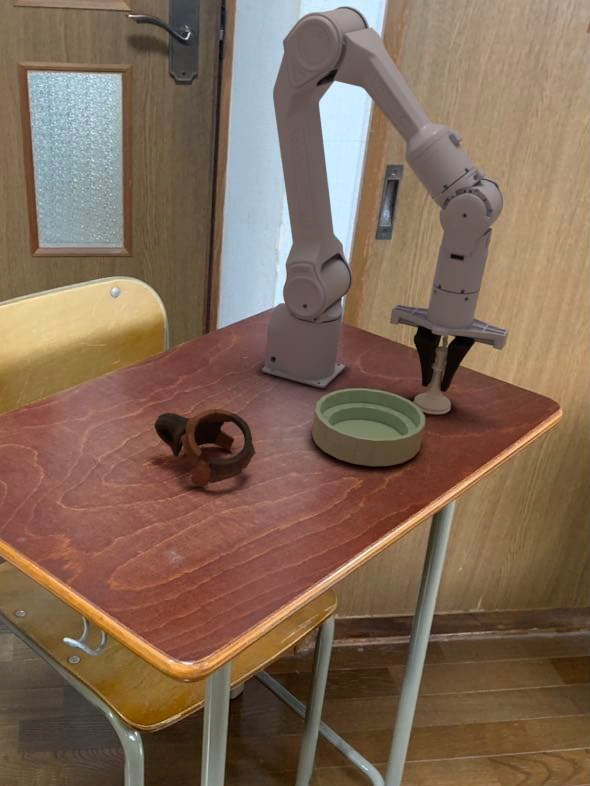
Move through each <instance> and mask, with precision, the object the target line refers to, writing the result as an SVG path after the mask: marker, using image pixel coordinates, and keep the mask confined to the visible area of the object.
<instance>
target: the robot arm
mask: <svg viewBox="0 0 590 786" xmlns="http://www.w3.org/2000/svg"><path fill="white" fill-rule="evenodd" d="M282 46H283V54H282V59H281V62H280V65H279V68H278V72H277V76H276V79H275V82H274V86H273V89H272V100H273V107H274V115H275V123H276V129H277V137H278V145H279V152H280V160H281V167H282V173H283V181H284V189H285V197H286V204H287V211H288V218H289V225H290V233H291V239H292V244H291V247H290V249H289V252H288V254H287V255H288V256H287V258H286V261H285V271H286V272H285V273H286V276H285V281H284V285H283V289H282V296H283V297H282V298H283V301H284V302H280V303H278V304H277V305H276V306H275V308H274V309H273V310H272V313H271V315H270V317H269V322H268V326H267V332H266V343H265V345H266V346H265V357H264V367H261V371H262V373H265V374H268V375H273V376H276V377H279V378H283V379H286V380H291V381H293V382H297V383H301V384H305V385H307V386H311V387H315V388H318V389H325V388H326V387H327V386H328V385H329V384H330V383H331V382H332V381H333V380H334V379H336V377H337V376H339V375H340V374H341V373H342V372H343V371H344V370H345V369H346V365H345V364H342V363H339V362H337V355H338V350H339V349H338V348H339V341H340V333H341V327H342V320H343V319H342V318H343V310H344V309H343V305H342V301H343V297H344V296H346V295H348V293H349V291H350V290H351V288H352V285H353V282H354V281H353V280H354V275H353V270H352V267H351V265H350V264H349V262H348V261H347V258H346V256H345V252H344V244H343V243H342V242H341V240H340V239H339V238H338V237H337V236H336V234H335V232H334V231H335V230H334V223H333V215H332V214H333V213H332V205H331V198H330V189H329V179H328V171H327V163H326V154H325V144H324V137H323V128H322V127H323V126H322V118H321V109H320V102H321V100H322V98H323V97H324V96H325V95H326V93H327V92H328V90H329V89H330V87H331V86H332V85H333V84H334V83H335V82H338V83H342V84H346V85H349V86H350V85H351V86H355V87H359V88H362V89H364V91H365V92H366V93H367V95H368V96H369V98H370V99H371V100H372V102H374V103H375V105H376V107H378V109H379V110H380V111H381V112H382V114H383V115H384V116H385V117H386V119H387V120H388V121H389V123H390V124H391V125H392V126H393V127H394V129H395V130H396V132H397V133H398V134H399V135H400V136H401V138H402V139H403V140H404V141H405V144H406V145H405V157H404V160H405V162H406V163H407V165H408V166H409V168H410V169H411V171H412V172H413V174H414V175H415V176H416V177H417V179H418V181H419V182H420V184H421V185H422V186H423V187H424V189H425V190H426V192H427V194H428V195H429V196H430V198H431V200H433V202H434V203H435V205H437V206H438V207H439V208H441V209H440V210H439V222H440V223H439V224H440V226H441V228H442V230H443V233H442V237H441V243H440V246H439V249H438V255H437V260H436V264H435V270H434V276H433V282H432V286H431V292H430V296H429V302H428V306H427V307H418V306H409V305H408V306H407V305H402V304H398V303H397V304H396V305H395V306H394V307H392V308H391V313H390V320H389V324H391V325H397V326H398V325H399V324H401V325H405V326H408V327H413V328H417V330H416V333H415V334H414V335H413V344H414V347H415V348H416V353H417V356H418V357H419V358H418V359H419V364H420V370H421V386H422V387H425V388H427V387H428V386H429V385H431V382H432V379H433V376H434V373H435V370H434V369H432V367H431V366H432V364H433V363H436V361H437V360H436V352H435V349H436V348H437V347H439V346H440V343H441V339H442V337H444V336H448V337H449V336H450V337H454V338H453V339H452V340H451V341H450V342H448V345H447V347H448V351H447V361H446V362H445V364H446V368H445V371H443V375H442V383H441V388H440V391H441V392H444V393H446V392H447V391H448V390H449V389H450V387H451V385H452V382H453V378H454V376H455V374H456V372H457V371H458V369H459V366H460V365H461V364H462V362H463V360H464V358H465V357H466V356H467V354H468V353H469V351H471V349H472V347H473V346H474V345H475V344H476V343H479V344H483V345H487V346H492V348H493V349H495V350H499V351H502V350H503V349H504V347H505V345H506V343H507V340H508V335H509V329H505V328H501V327H498V326H495V325H492V324H490V323H487V322H485V321H483V320H479V319H477V318H475V314H476V311H477V310H476V308H477V304H478V300H479V297H480V291H481V287H482V282H483V278H484V273H485V269H486V266H487V265H486V264H487V260H488V256H489V246H490V244H491V239H492V233H493V228H492V227H491V226H492V225H494V223H495V222H496V221H497V220H498V218H499V217H500V215H501V213H502V211H503V206H504V198H503V193H502V191H501V189H500V187H499V186H500V185H499V183H498V182H497V181H495V180H494V179H492V178H490V177H488V176H487V175H486V172H485V171H484V170H483V168H479V169H478V168H477V167H476V165H475V163H474V162H473V161H472V159H471V158H470V157H469V155H468V154H467V152H466V150H464V148H463V146H462V145H461V143H460V142H462V141H463V139H464V137H463V136H462V135H461V133H460V132H459V130H457V129H456V130H454V131H451V129H450V128H449V126H448V124H447V125H446V124H441V123H434V122H432V121H431V120H430V119H429V117H428V115H427V114H426V112H425V111H424V109H423V107H422V105H421V104H420V103H419V101H418V99H417V97H416V96H415V94H414V93H413V91H412V89H411V88H410V86H409V85H408V83H407V82H406V80H405V78H404V77H403V75H402V74H401V72H400V70H399V69H398V67H397V65H396V64H395V62H394V61H393V59H392V57H391V56H390V54H389V52H388V51H387V49H386V46H385V44H384V42H383V40H382V37H381V36H380V34H379V33H378V32H377V31H376V30H375V29H374V28H373V27H372V26H371V27H370V26H369V22H368V20H367V19H366V17H365V15H364V14H363V13H362V12H361V11H360V10H359V9H357V8H355V7H352V6H346V5H345V6H344V5H343V6H339V7H337V8H334V9H331V10H327V11H314V12H313V11H312V12H309V13H306V14H305V15H303V16H302V17H301V18H299V20H298V21H297V22H296V23H295V24H294V25H293V27H292V28H291V29H290V30H289V32H288V33H287V35H286V36H285V37H284V38H283V40H282Z"/></svg>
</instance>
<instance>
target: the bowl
mask: <svg viewBox="0 0 590 786" xmlns="http://www.w3.org/2000/svg"><path fill="white" fill-rule="evenodd" d="M425 427H426V415H425V414H424V412H422V411H421V409H420V408H419V407H418V406H416V405H415V404H414V403H413V401H412V400H409V399H408V398H405V397H403V396H401V395H399V394H396V393H393V392H389V391H385V390H381V389H374V388H365V387H357V388H356V387H355V388H353V387H351V388H344V389H339V390H334V391H332V392H331V391H330V392H329V393H327V394H325V395H324V394H323V396H322V397H320V399H318V400H317V402H316V403H315V407H314V415H313V422H312V432H311V436H312V439H313V442H314V443H315V445H316V446H317V447H319V448H320V449H321V451H323V452H324V453H326V454H328V455H330V456H331V457H334V458H336V459H337V460H340V461H342V462H347V463H350V464H354V465H360V466H367V467H390V466H394V465H400V464H404V463H405V462H407V461H409V460H412V459H413V458H414V457H416V455H417V454H418V452H419V451H420V450H421V445H422V440H423V436H424V432H425Z"/></svg>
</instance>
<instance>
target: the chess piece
mask: <svg viewBox="0 0 590 786" xmlns="http://www.w3.org/2000/svg"><path fill="white" fill-rule="evenodd" d="M448 340H449V335H448V336H442V345H439V347H437V348H436V349H435V352H436V360H435V361H436V362H435V363H433V364H432V366H431V367H432V369H434V373H433V377H432V381H431V382H430V384H429V385H430V386H429V387H428V390H427V391H425V392H421V393H419V394H416V396H414V400H413V401H412V402H413V403H414V404H415V405H416V406H418V407H419V408H420V409H421V411H422V412H423V413H425V414H429V415H444V414H447V413H448V412H450V411H451V409H452V408H451V406H452V403H451V400H450V399H449V398H448V397H446V396H445V395H443V393H442V391H440V388H441V383H442V379H443V374H444V372H445V368H446V361H447V351H448V345H449V341H448Z"/></svg>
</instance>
